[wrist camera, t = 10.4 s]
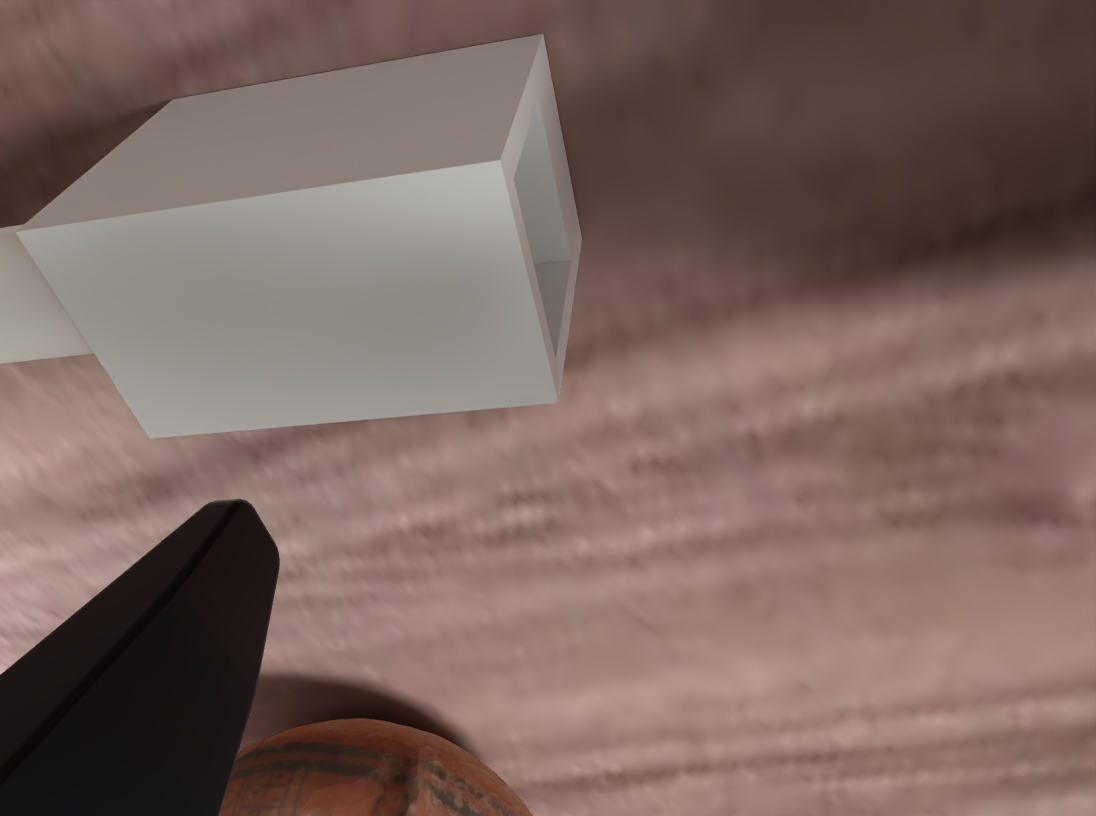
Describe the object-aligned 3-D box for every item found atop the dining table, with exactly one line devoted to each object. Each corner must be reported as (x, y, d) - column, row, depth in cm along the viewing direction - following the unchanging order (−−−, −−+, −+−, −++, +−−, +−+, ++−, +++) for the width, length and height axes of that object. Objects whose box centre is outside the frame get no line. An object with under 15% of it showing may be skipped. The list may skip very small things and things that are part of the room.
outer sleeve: (543, 34, 18) (500, 160, 13) (582, 238, 22) (558, 402, 17) (173, 99, 20) (15, 232, 15) (258, 279, 23) (149, 438, 18)
